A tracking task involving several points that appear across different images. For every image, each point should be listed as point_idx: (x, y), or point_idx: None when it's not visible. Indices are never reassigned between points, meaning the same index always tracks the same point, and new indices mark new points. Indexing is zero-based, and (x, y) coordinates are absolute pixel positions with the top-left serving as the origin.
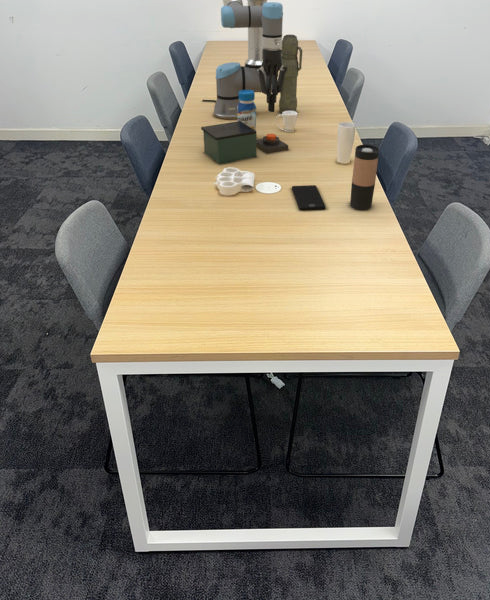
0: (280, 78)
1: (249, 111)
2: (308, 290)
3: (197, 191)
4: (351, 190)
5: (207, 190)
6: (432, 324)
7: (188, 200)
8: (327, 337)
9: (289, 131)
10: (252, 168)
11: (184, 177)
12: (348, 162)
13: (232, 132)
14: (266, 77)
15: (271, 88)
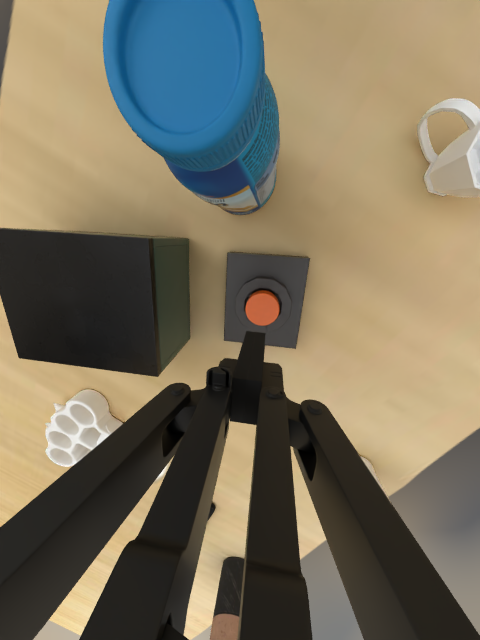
0: (352, 586)
1: (206, 196)
2: (90, 604)
3: (26, 410)
4: (218, 594)
5: (43, 416)
6: None
7: (8, 428)
8: (81, 629)
9: (432, 191)
10: (152, 385)
11: (9, 348)
12: None
13: (78, 344)
14: (142, 535)
15: (218, 466)
